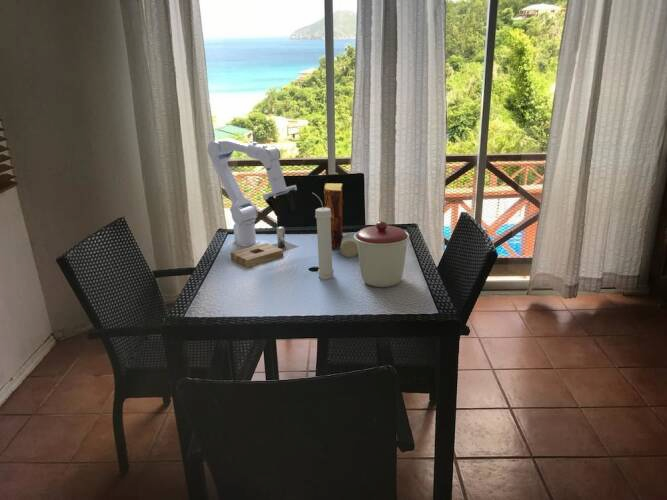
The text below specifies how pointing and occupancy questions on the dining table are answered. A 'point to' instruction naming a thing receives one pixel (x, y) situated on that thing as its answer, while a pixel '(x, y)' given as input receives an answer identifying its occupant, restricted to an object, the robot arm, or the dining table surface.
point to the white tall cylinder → (324, 242)
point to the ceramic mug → (349, 245)
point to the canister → (381, 254)
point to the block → (256, 254)
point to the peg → (280, 237)
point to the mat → (286, 246)
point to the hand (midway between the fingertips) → (286, 212)
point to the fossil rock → (334, 211)
